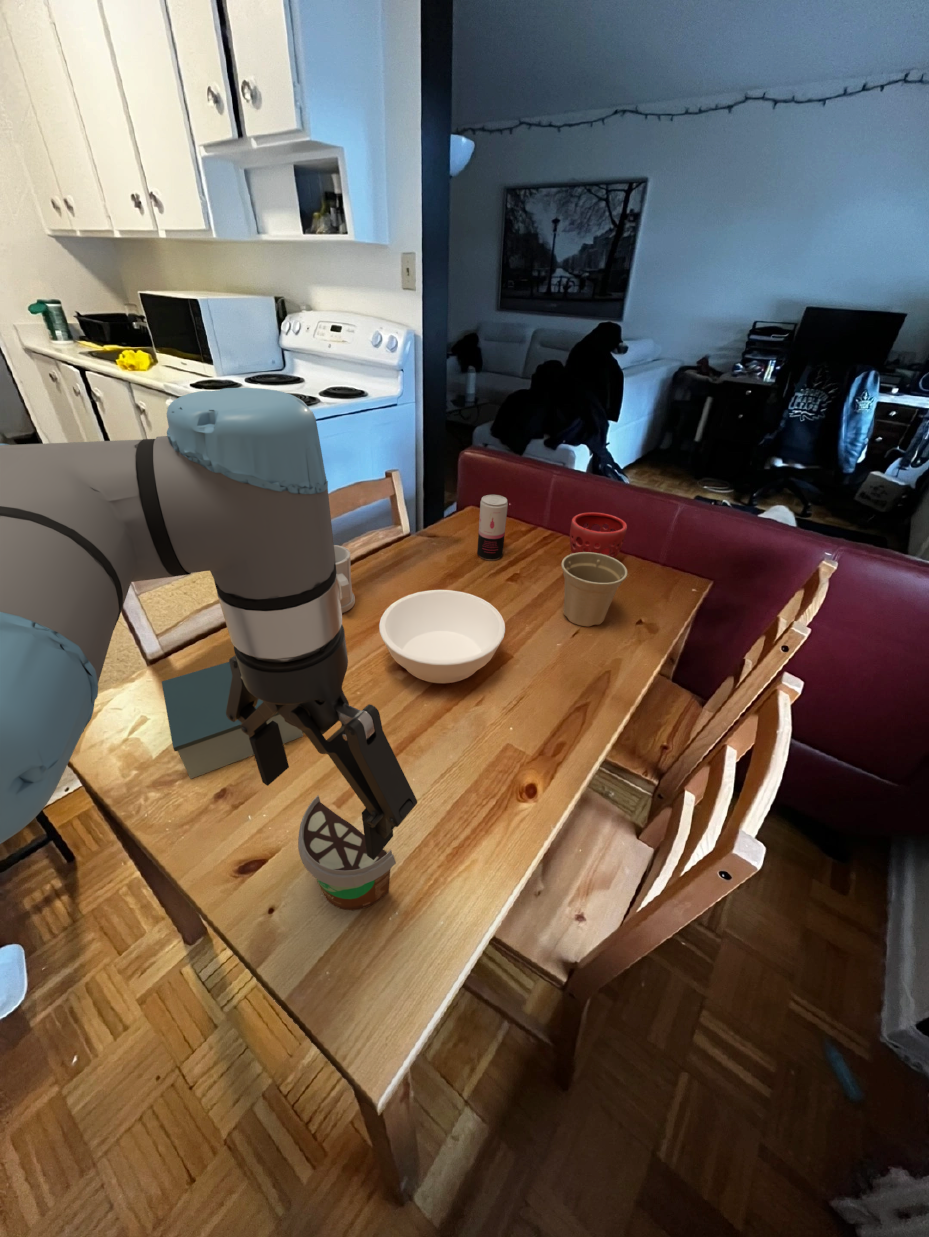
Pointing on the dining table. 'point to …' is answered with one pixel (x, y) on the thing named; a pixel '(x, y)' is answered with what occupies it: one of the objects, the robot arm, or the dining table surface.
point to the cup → (344, 577)
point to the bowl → (442, 634)
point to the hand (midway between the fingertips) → (325, 808)
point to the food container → (342, 859)
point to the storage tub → (209, 721)
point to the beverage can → (492, 527)
